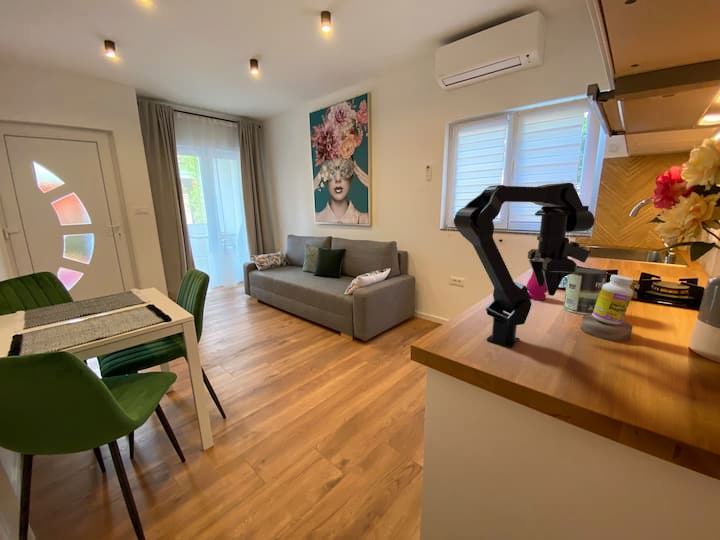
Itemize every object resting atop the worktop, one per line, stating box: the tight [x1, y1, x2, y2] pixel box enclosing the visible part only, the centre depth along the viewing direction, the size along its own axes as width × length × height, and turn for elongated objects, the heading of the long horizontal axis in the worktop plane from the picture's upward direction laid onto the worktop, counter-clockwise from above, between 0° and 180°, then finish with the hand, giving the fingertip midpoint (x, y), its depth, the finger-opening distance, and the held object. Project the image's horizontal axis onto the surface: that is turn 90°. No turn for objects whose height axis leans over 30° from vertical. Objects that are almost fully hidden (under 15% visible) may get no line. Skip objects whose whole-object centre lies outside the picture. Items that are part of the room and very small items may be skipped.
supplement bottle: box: [592, 274, 634, 325], centre depth 82 cm, size 7×7×13 cm
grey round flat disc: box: [580, 315, 633, 342], centre depth 84 cm, size 11×11×4 cm
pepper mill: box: [526, 271, 548, 301], centre depth 113 cm, size 7×7×20 cm
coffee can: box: [562, 266, 608, 316], centre depth 100 cm, size 10×10×14 cm
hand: (545, 290), depth 81 cm, fingers open, 9 cm apart
